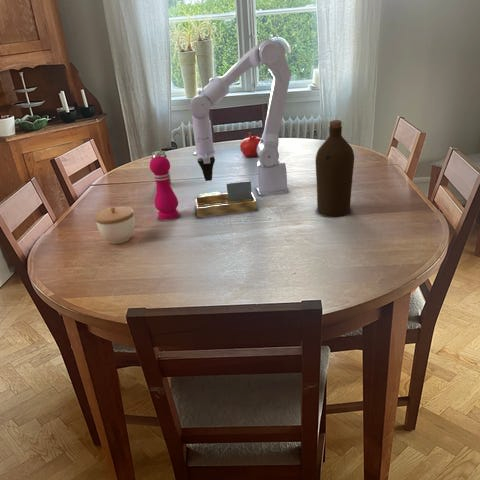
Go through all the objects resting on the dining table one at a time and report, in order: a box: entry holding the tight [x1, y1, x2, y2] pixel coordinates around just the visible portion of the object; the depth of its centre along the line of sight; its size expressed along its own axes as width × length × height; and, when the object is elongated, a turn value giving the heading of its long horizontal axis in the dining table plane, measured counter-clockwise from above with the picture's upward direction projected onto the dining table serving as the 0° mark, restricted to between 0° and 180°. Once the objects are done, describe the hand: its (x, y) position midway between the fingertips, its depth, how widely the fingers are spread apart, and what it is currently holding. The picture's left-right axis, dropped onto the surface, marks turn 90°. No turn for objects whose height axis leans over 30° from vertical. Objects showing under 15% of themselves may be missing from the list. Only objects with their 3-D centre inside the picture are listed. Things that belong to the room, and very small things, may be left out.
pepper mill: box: [149, 150, 180, 221], centre depth 144 cm, size 7×7×20 cm
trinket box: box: [93, 206, 136, 244], centre depth 135 cm, size 11×11×9 cm
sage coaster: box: [198, 191, 222, 197], centre depth 160 cm, size 8×1×8 cm
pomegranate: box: [239, 131, 261, 158], centre depth 199 cm, size 10×10×9 cm
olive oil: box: [315, 119, 355, 218], centre depth 135 cm, size 11×11×25 cm
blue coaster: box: [225, 180, 253, 202], centre depth 149 cm, size 8×1×8 cm, turn 97°
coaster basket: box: [194, 192, 258, 218], centre depth 150 cm, size 18×11×3 cm, turn 97°
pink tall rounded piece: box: [150, 150, 172, 185], centre depth 173 cm, size 5×5×12 cm
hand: (208, 180), depth 158 cm, fingers closed
